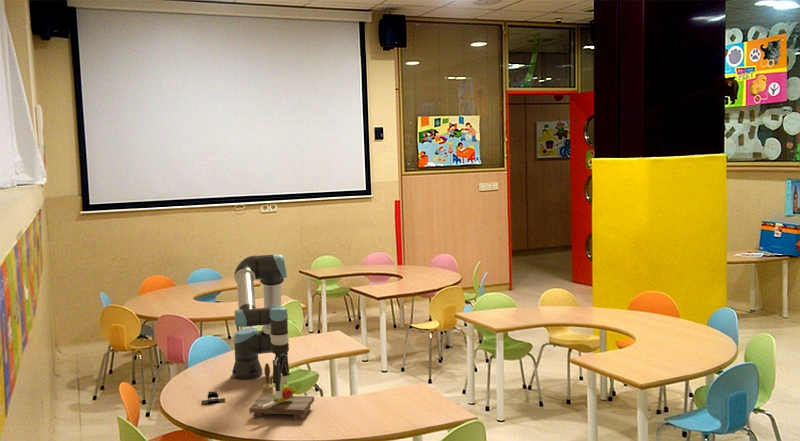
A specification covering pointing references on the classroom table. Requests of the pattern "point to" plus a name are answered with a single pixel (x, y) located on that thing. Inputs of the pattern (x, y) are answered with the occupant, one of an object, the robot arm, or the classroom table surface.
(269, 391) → the hand bell
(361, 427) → the classroom table surface
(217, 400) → the black arched bracket
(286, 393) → the toy measuring tape
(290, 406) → the walnut stand
